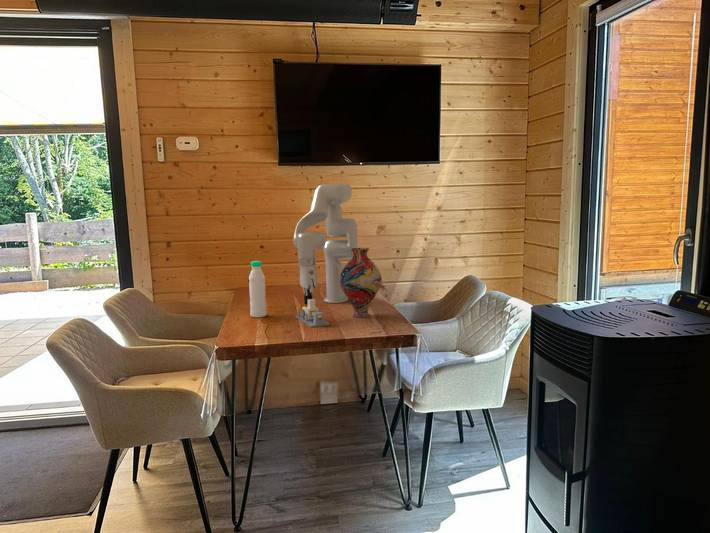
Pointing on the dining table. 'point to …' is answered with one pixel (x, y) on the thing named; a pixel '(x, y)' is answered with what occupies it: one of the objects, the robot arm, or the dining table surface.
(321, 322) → the gray rack
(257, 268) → the water bottle
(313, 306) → the small white bottle
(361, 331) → the dining table surface
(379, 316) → the dining table surface
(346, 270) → the vase
